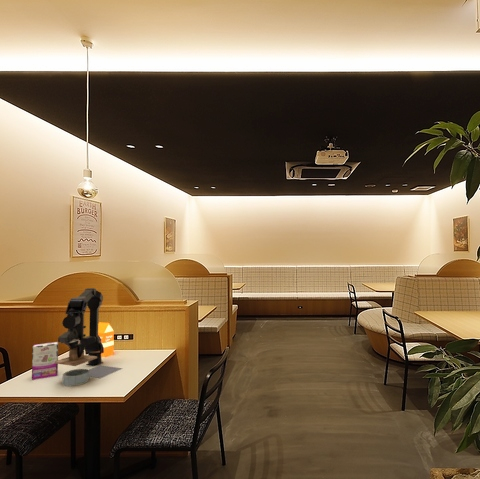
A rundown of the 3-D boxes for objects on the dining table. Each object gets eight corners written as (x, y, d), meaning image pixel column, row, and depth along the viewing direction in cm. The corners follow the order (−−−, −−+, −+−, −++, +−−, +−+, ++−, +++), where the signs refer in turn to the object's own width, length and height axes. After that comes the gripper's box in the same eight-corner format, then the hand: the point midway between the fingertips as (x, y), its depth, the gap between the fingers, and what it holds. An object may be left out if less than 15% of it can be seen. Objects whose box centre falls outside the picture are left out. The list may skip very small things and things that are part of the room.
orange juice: (103, 357, 195) (104, 324, 196) (93, 356, 199) (93, 323, 200) (113, 354, 202) (114, 321, 203) (103, 352, 206) (104, 320, 207)
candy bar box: (57, 373, 168) (58, 341, 169) (57, 376, 163) (58, 343, 164) (32, 377, 163) (33, 344, 164) (31, 380, 158) (32, 346, 159)
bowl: (57, 384, 152) (57, 375, 152) (76, 377, 162) (77, 367, 163) (74, 387, 148) (75, 377, 148) (93, 379, 158) (93, 370, 159)
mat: (75, 375, 165) (75, 374, 165) (99, 365, 180) (99, 365, 180) (99, 379, 159) (100, 378, 159) (122, 369, 174) (122, 368, 174)
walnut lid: (54, 363, 152) (55, 350, 153) (77, 355, 164) (77, 344, 165) (75, 366, 148) (75, 353, 148) (97, 358, 160) (97, 346, 160)
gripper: (48, 326, 153) (47, 360, 152) (77, 329, 146) (77, 364, 145) (68, 322, 163) (67, 353, 162) (96, 324, 157) (96, 357, 156)
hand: (76, 357), depth 156 cm, fingers closed on walnut lid, 3 cm apart
